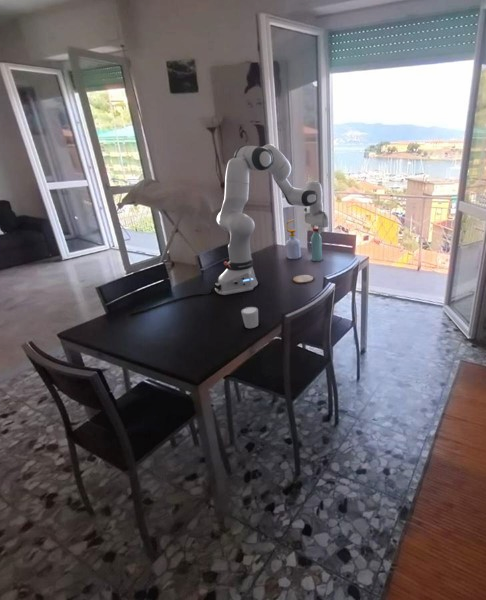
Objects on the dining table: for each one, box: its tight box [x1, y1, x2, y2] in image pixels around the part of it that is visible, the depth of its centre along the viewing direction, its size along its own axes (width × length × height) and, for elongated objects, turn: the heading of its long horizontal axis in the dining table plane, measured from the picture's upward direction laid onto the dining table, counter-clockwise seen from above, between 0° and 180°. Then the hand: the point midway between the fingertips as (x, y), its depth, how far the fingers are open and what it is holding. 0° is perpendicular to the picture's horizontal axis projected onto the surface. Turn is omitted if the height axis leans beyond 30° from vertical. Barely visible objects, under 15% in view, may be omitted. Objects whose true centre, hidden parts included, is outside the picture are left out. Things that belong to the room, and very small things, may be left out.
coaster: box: [292, 274, 314, 284], centre depth 195 cm, size 11×11×1 cm
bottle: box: [310, 232, 323, 262], centre depth 222 cm, size 6×6×20 cm
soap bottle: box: [285, 218, 302, 260], centre depth 227 cm, size 9×9×25 cm
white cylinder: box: [240, 306, 259, 329], centre depth 148 cm, size 7×7×7 cm
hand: (316, 232), depth 219 cm, fingers closed on cap, 4 cm apart
